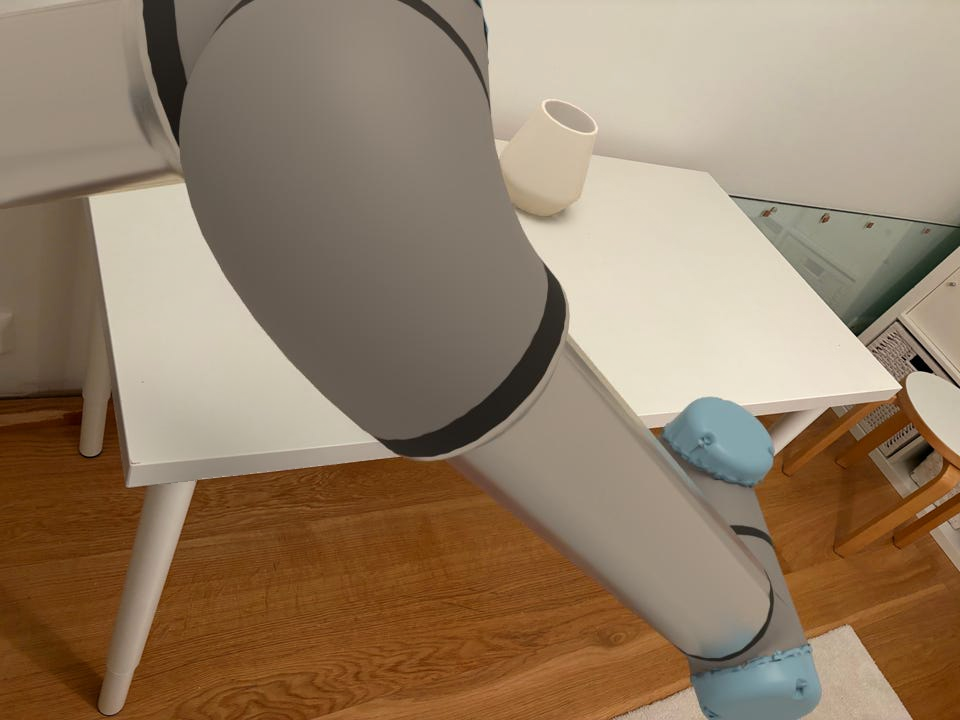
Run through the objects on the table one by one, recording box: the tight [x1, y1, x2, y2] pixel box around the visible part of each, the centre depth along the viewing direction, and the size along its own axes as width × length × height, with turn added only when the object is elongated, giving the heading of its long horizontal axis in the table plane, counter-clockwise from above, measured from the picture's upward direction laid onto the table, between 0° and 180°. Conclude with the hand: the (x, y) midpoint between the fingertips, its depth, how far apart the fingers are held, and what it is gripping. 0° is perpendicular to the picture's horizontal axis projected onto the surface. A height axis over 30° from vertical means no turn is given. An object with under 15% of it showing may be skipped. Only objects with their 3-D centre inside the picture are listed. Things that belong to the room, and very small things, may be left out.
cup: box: [498, 98, 599, 217], centre depth 105 cm, size 13×13×14 cm
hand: (420, 298), depth 74 cm, fingers open, 13 cm apart
